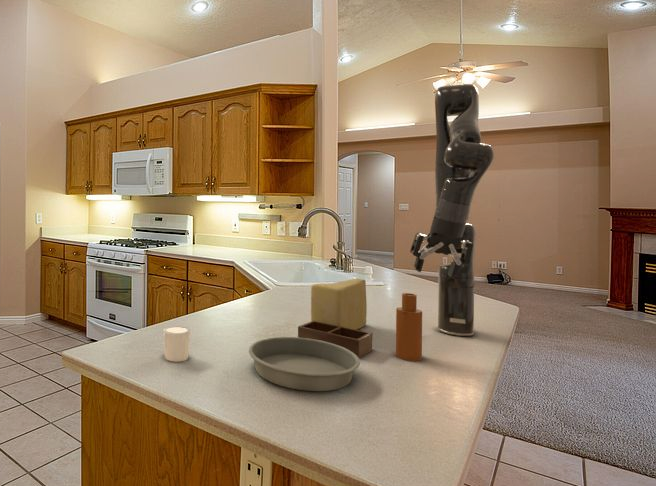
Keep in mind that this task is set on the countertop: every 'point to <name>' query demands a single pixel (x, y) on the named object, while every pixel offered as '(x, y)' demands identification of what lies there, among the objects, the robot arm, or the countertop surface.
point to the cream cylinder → (176, 343)
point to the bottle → (409, 329)
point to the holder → (338, 336)
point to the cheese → (340, 303)
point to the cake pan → (304, 363)
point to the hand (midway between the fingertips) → (434, 273)
